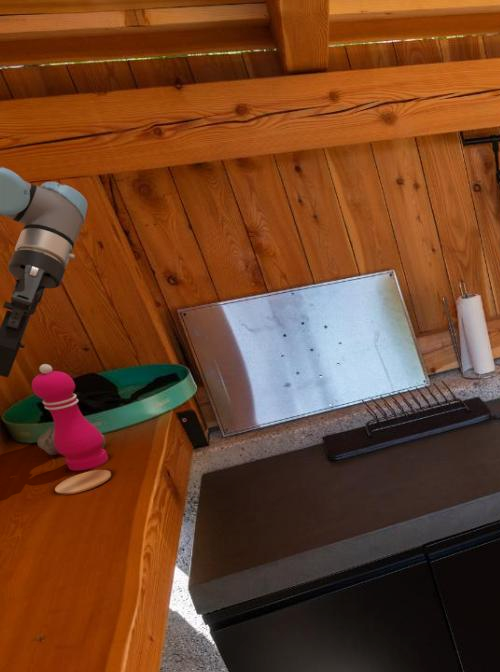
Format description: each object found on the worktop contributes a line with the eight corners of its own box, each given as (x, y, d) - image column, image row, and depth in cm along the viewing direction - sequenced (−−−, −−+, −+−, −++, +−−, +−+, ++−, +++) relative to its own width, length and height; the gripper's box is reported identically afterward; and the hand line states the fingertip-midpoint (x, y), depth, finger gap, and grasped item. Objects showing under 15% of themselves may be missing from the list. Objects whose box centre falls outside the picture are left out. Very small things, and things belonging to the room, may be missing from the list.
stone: (115, 448, 153) (94, 417, 154) (102, 438, 148) (80, 406, 149) (62, 474, 149) (41, 442, 150) (47, 465, 144) (25, 432, 145)
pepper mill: (56, 470, 143) (7, 370, 133) (91, 453, 149) (47, 356, 139) (86, 474, 141) (39, 372, 132) (121, 456, 147) (78, 358, 138)
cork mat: (44, 496, 134) (43, 494, 134) (77, 473, 142) (76, 471, 142) (91, 492, 134) (90, 490, 134) (121, 469, 142) (120, 467, 141)
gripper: (75, 238, 134) (36, 343, 127) (57, 295, 151) (22, 391, 144) (20, 218, 130) (-24, 326, 122) (8, 280, 146) (-31, 377, 139)
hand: (1, 361), depth 133 cm, fingers open, 13 cm apart
